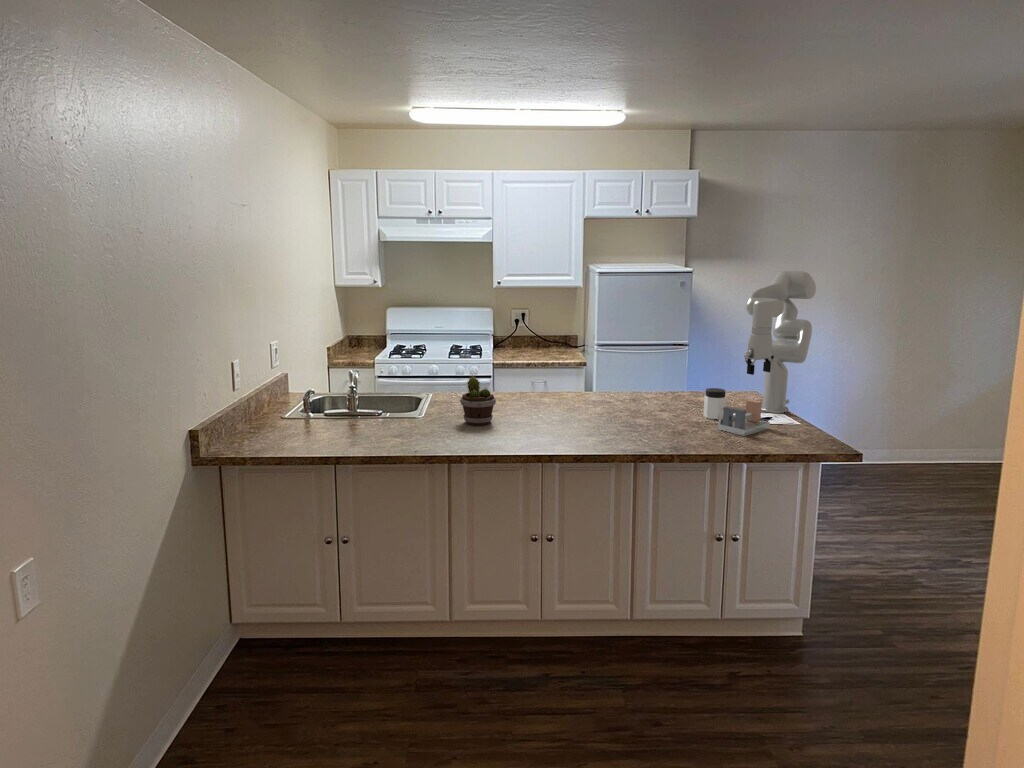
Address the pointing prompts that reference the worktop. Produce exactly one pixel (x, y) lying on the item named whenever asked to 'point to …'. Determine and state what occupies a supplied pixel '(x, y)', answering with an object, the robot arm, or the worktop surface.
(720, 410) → the jar
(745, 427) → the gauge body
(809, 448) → the worktop surface
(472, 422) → the flowerpot
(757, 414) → the plunger
